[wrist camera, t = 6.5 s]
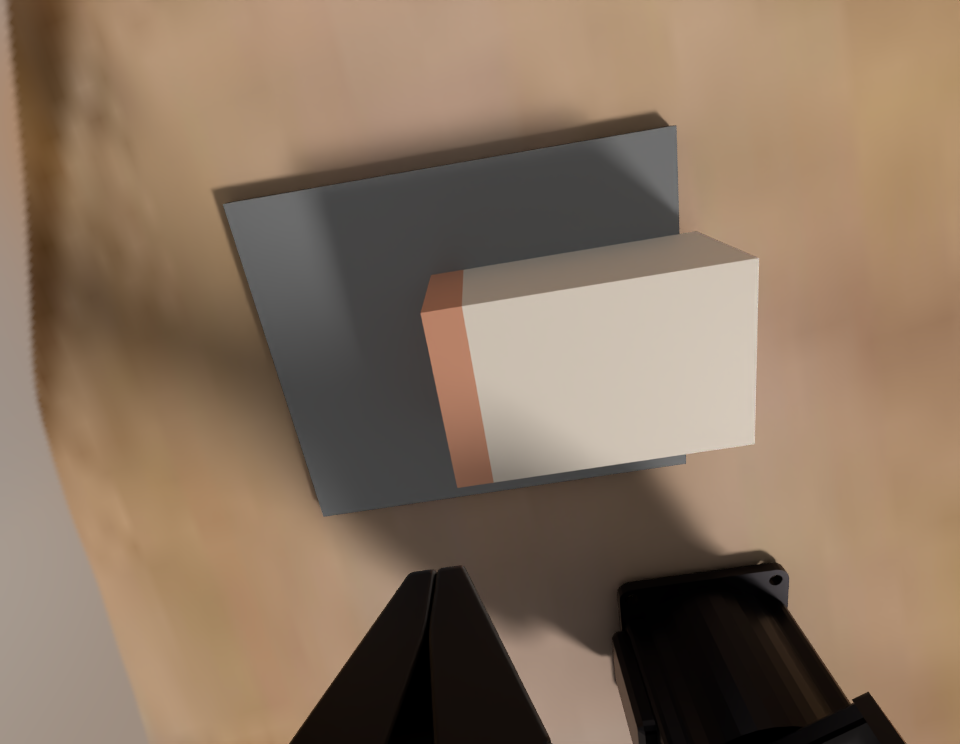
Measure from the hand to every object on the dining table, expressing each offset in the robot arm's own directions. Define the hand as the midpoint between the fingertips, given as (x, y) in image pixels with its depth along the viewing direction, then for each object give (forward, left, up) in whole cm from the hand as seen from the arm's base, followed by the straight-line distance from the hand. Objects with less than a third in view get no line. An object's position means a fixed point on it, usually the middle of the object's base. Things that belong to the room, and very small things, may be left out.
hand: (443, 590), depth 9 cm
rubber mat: (-1, 0, -11) cm, 11 cm away
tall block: (0, 0, -8) cm, 9 cm away
